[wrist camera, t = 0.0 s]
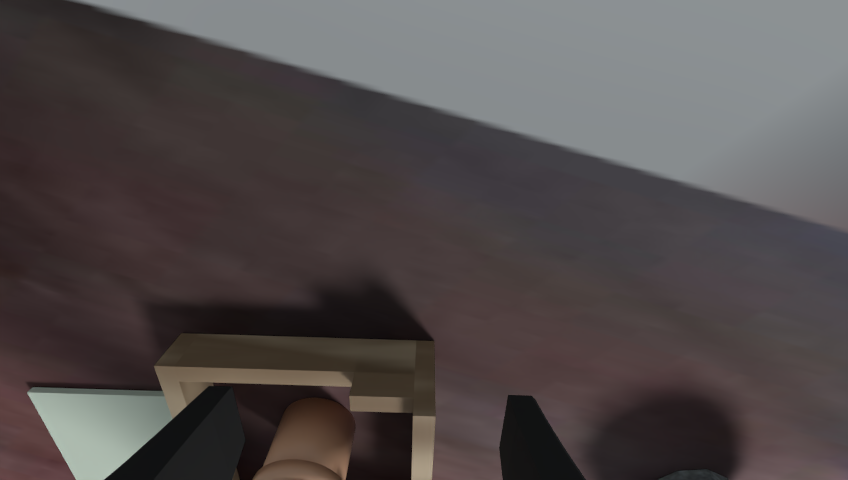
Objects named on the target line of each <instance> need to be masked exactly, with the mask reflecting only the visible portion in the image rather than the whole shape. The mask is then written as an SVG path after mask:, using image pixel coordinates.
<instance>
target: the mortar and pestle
mask: <svg viewBox="0 0 848 480" xmlns="http://www.w3.org/2000/svg"><path fill="white" fill-rule="evenodd" d="M658 480H728V478H726V477H724V476H721V475H719V474H717V473H715V472H712V471H710V470H708V469H700V470H684V471H676V472H674V473H671V474H669V475H667V476H665V477H663V478H660V479H658Z"/></svg>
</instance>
